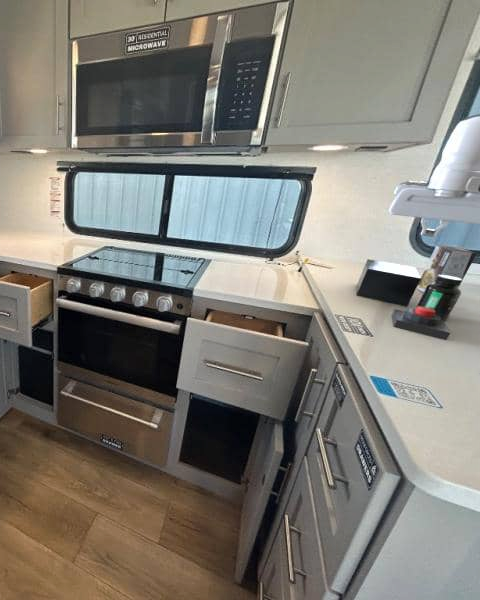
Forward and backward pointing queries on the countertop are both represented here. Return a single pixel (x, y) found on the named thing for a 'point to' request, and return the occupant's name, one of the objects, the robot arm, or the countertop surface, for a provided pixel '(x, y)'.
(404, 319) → the control block
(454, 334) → the countertop surface
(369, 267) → the bin lid
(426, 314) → the button
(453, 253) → the coffee box
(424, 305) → the supplement bottle
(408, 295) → the bin
